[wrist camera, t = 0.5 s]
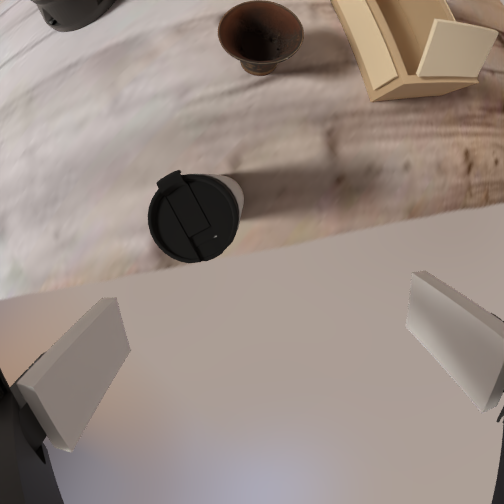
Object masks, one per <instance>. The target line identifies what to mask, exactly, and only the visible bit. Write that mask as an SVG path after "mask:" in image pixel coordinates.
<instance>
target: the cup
mask: <svg viewBox="0 0 504 504" xmlns="http://www.w3.org/2000/svg"><path fill="white" fill-rule="evenodd" d="M218 37H219V41H220V43H221V45H222V47H223V48H224V49H225V51H226V52H227V53H229V54H230V55H231V56H232V57H234V58H236V59H238V60H240V62H241V65H242V67H243V69H244V70H245V71H246V72H248V73H250V74H252V75H256V76H263V75H267V74H269V73H271V72H272V71H273V70H274V69H275V68H276V66H277V63H279V62H282V61H284V60H286V59H288V58H290V57H291V56H292V55H294V54H295V53H296V52H297V50H298V49H299V48H300V46H301V44H302V42H303V38H304V31H303V27H302V24H301V22H300V21H299V19H298V18H297V16H296V15H295V14H294V13H293V12H292V11H290V10H289V9H287V8H286V7H284V6H282V5H280V4H277V3H274V2H270V1H259V0H258V1H257V0H256V1H249V2H244V3H241V4H239V5H237V6H235V7H233V8H232V9H230V10H229V11H228V12H227V13H226V14H225V15H224V16H223V17H222V19H221V21H220V23H219V26H218Z"/></svg>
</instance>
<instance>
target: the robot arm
mask: <svg viewBox="0 0 504 504" xmlns="http://www.w3.org/2000/svg"><path fill="white" fill-rule="evenodd" d="M31 1H33V2H34V3H36V4H37V6H38V8H39V10H40V12H41V14H42V16H43V18H44V20H45V22H46V23H47V24H48V25H49V26H50V27H52V28H53V29H55V30H57V31H60V32H69V31H73V30H77V29H79V28H82V27H84V26H86V25H88V24H89V23H91V22H93V21H94V20H96V19H97V18H98V17H100V16H101V15H102V14H103V13H104V12H105V11H107V10H108V9H109V8H110V7H111V5H112V4H113V3H114V2H115V1H116V0H31ZM406 328H407V329H408V330H409V331H410V332H411V333H412V334H413V335H414V336H415V337H416V338H417V339H418V341H419V342H420V343H421V344H422V345H423V346H424V347H425V348H426V349H427V350H428V351H429V352H430V354H431V355H432V356H433V357H434V358H435V359H436V360H437V361H438V362H439V364H440V365H441V366H442V367H443V368H444V369H445V371H446V372H447V373H448V374H449V375H450V376H451V377H452V379H453V380H454V381H455V382H456V383H457V384H458V385H459V387H460V388H461V389H462V390H463V391H464V392H465V394H466V395H467V396H468V397H469V398H470V400H471V401H472V402H473V403H474V404H475V406H476V407H477V408H478V409H479V410H480V412H481V413H484V412H486V411H488V410H490V409H492V408H494V407H496V406H497V405H498V402H499V400H500V398H501V396H502V393H503V392H504V321H502V320H501V319H500V318H498V317H497V316H496V315H494V314H492V313H490V312H488V311H486V310H485V309H484V308H482V307H481V306H479V305H478V304H476V303H475V302H473V301H472V300H470V299H469V298H467V297H466V296H464V295H463V294H461V293H460V292H458V291H457V290H455V289H453V288H452V287H450V286H449V285H447V284H446V283H444V282H442V281H441V280H439V279H437V278H436V277H435V276H433V275H431V274H430V273H428V272H426V271H420V272H413V273H412V278H411V288H410V297H409V306H408V314H407V321H406ZM130 351H131V350H130V346H129V343H128V339H127V336H126V332H125V329H124V325H123V321H122V318H121V314H120V310H119V306H118V302H117V298H102V299H101V300H99V301H98V302H97V303H96V304H95V305H94V306H93V307H92V308H91V309H90V310H89V311H88V312H87V313H86V314H85V315H83V316H82V317H81V318H80V319H79V320H78V321H77V322H76V323H75V324H74V325H73V326H72V327H71V328H70V329H69V330H68V331H67V332H66V333H65V334H64V335H63V336H62V337H61V338H60V339H59V340H58V341H57V342H56V343H55V344H54V345H53V346H52V347H51V348H50V349H49V350H48V351H46V352H45V353H43V354H41V355H40V357H39V358H38V359H37V360H36V361H35V362H34V363H33V364H32V365H31V366H30V367H29V369H27V370H26V371H25V372H24V373H23V374H22V375H21V376H20V377H19V378H18V379H17V380H16V381H15V383H14V384H13V385H12V386H11V387H9V385H8V383H7V381H6V379H5V377H4V375H3V373H2V371H1V369H0V504H64V502H63V500H62V497H61V494H60V491H59V488H58V486H57V482H56V479H55V476H54V472H53V469H52V466H51V462H50V459H49V455H48V451H47V449H46V446H45V445H44V443H43V440H44V439H45V437H46V436H47V437H48V438H49V440H50V441H51V443H52V444H53V446H54V447H55V448H58V449H62V450H65V451H69V452H73V450H74V448H75V446H76V444H77V442H78V441H79V439H80V437H81V435H82V433H83V431H84V430H85V428H86V426H87V424H88V422H89V421H90V419H91V417H92V415H93V413H94V412H95V410H96V408H97V406H98V405H99V403H100V401H101V400H102V398H103V396H104V394H105V393H106V391H107V389H108V388H109V386H110V384H111V382H112V381H113V379H114V378H115V376H116V374H117V372H118V371H119V369H120V367H121V366H122V364H123V363H124V361H125V359H126V358H127V356H128V354H129V353H130ZM503 416H504V407H503V409H502V411H501V413H500V415H499V417H498V419H497V422H499V421H500V419H501V417H503ZM503 423H504V421H503ZM492 504H504V426H503V438H502V448H501V456H500V463H499V469H498V475H497V481H496V486H495V491H494V495H493V500H492Z"/></svg>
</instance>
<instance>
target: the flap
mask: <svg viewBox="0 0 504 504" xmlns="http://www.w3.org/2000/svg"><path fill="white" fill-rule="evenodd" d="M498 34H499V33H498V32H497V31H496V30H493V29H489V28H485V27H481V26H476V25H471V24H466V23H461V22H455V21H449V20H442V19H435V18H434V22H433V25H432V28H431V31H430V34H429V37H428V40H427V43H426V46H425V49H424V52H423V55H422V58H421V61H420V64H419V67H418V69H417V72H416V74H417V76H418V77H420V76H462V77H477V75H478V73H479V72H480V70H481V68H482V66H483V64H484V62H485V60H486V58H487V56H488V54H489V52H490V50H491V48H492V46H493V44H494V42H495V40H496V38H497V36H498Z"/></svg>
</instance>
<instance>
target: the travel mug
mask: <svg viewBox="0 0 504 504" xmlns="http://www.w3.org/2000/svg"><path fill="white" fill-rule="evenodd" d="M180 173H181V171H180V170H177V171H174V172H172V173H170V174H169V175H167V176H165V177H164V178H162V179H160V180H159V181H158V182H157V186H158V188H159V189H158V191H157V192H156V193H155V195H154V196H153V198H152V200H151V203H150V206H149V211H148V225H149V229H150V233H151V235H152V237H153V239H154V241H155V243H156V244H157V245H158V247H159V248H160V249H161V250H162V251H163V252H164V253H165V254H167V255H168V256H170V257H171V258H173V259H176V260H178V261H181V262H185V263H196V262H201V261H208V260H211V259H214V258H215V257H217V256H219V255H220V254H222V253H223V251H224V250H225V249H226V248H227V247H228V246H229V245H230V244H231V243H232V242H233V240H234V237H235V235H236V232H237V230H238V227H239V222H240V218H241V213H242V209H243V204H244V195H243V191H242V189H241V187H240V185H239V184H238V183H237V182H236V181H235V180H233V179H232V178H230V177H227V176H223V175H212V174H187V175H181V174H180Z"/></svg>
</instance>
